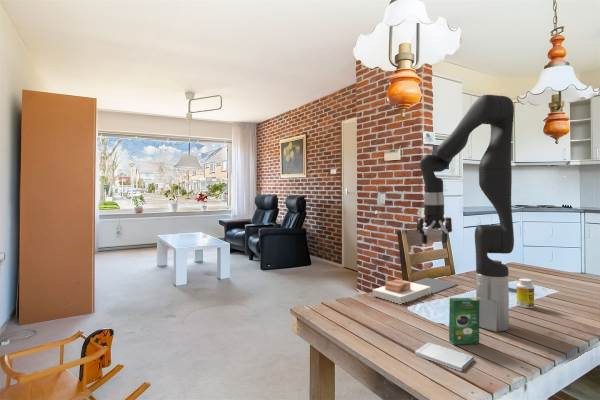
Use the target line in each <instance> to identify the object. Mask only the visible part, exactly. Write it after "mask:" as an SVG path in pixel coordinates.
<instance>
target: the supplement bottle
mask: <svg viewBox="0 0 600 400" xmlns="http://www.w3.org/2000/svg"><path fill="white" fill-rule="evenodd" d="M532 281H533V280H532V279H530V278H519V279H518V283H516V305H517V306H518V307H521V308H522V309H523V308H524V309H533V308H534V307H535V285H533V284H532V283H533V282H532Z"/></svg>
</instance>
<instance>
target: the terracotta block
mask: <svg viewBox="0 0 600 400" xmlns="http://www.w3.org/2000/svg"><path fill="white" fill-rule="evenodd" d="M406 281H407V280H401V279H393V280H389V281H386V282H384V286H385V290H389V291H393V292H396V293H401V292H404V291H407V290H410V282H411V281H408V282H406Z"/></svg>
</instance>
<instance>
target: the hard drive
mask: <svg viewBox="0 0 600 400" xmlns="http://www.w3.org/2000/svg"><path fill="white" fill-rule="evenodd" d="M414 355H415V356H418V357H419V358H422V359H426V360H429V361H430V360H431V362H433V361H434V362H433V363H436V362H437V363H436V364H439V363H440V364H439V365H441V364H442V366H444V365H445V366H444V367H447V366H448V368H449V367H450V369H452V368H453V369H452V370H455V369H456V371H458V370H459V371H458V372H460V371H462V370H463V369H464V370H465V369H467V367H469V365H471V364H470V363H471V362H472V361H473V360H474V361H475V358H474V356H472V355H469V354H466V353H462V352H459V351H457V350H455V349H451V348H448V347H444V346H443V345H438V344H435V343H432V342H426V343H425V344H423V345H422V346H420V347H419V348H418V349H416V350H415V351H414ZM474 361H473V362H474ZM473 362H472V363H473ZM464 370H463V371H464ZM463 371H462V372H463Z"/></svg>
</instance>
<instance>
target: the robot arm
mask: <svg viewBox="0 0 600 400" xmlns="http://www.w3.org/2000/svg"><path fill="white" fill-rule="evenodd" d="M514 116H515V107H514V102H513V100H512V99H511V98H510V97H509V96H506V95H497V94H483V95H481V96H479V97H478V98H477V99H476V100H475V101H474V102H473V104H472V105H471V106H470V107H469V109H468V110H467V112H466V113H465V115H464V116H463V117H462V118H461V120H460V122H459V123H458V124H457V126H456V127H455V128H454V129H453V131H452V132H451V133H450V134H449V135H448V136H447V137H446V138H445V139H444V140H443V141H442V142H441V143H440V144H438V147H437V148H436V154H430V153H429V154H425V155H423V156H422V157H421V159H420V161H419V167H420V171H421V175H422V180H423V182H424V197H423V198H424V199H423V203H424V204H423V206H424V209H423V211H424V214H423V215H424V218H419V217H418V218H417V219H416V220H417V221H416V233H418V234H420V235H421V243H422V244H423V245H427V244H428V233H429V232H430V231H431V230H434V229H438V230H440V231H441V243H442V244H446V243H447V242H448V233H452V232H453V225H452V217H448V216H446V217H444V215H445V195H444V180H443V179H442V178H440V177H438V176H436V174H435V173H441V172H444V171H445V170H446V169H447V168H448V167H449V166H450V164H451V162H452V161H453V158H455V157H456V156H457V155H458V154H459V153H460V152H461V151H463V150H464V148H465V147H466V146H467V145H468V144H467V143H468V141H469V137H470V135H471V133H472V132H473V131H474V130H475V129H477V128H478V127H480V126H481V125H490V140H489V143H488V146H487V148H486V150H485V152H484V153H483V155H482V157H481V159H480V162H479V165H478V186H479V187H480V189H481V191H482V192H483V194H484V195H485V197H486V198H487V200H488V201H489V202H490V203H491V205H492V206H493V208H494V209H495V211H496V213H497V216H498V218H499V219H498V220H499V224H479V225H476V227H475V229H474V245H475V246H474V247H475V249H474V250H475V278H476V279H475V280H476V281H475V290H476V291H475V294H476V296H475V298H476V299H478V300H479V301H480V308H479V328H481V329H484V330H488V331H492V332H495V333H497V332H504V331H508V330H509V329H510V313H509V312H510V304H509V303H510V302H509V301H510V300H509V298H510V297H509V296H510V295H509V292H510V291H509V290H510V288H509V285H510V284H509V277H510V275H509V271H510V270H509V267H508V265H506V264H503V263H502V264H501V263H498V262H495V261H493V259H491V258H490V257H489V256H488V254H503V255H504V254H510V253H512V252H513V250H514V248H515V247H514V246H515V233H514V223H513V212H512V211H513V210H512V182H513V181H512V180H513V177H512V175H513V174H512V172H513V171H512V136H513V135H512V134H513V125H514ZM444 223H445V225H444ZM424 224H425V225H424Z"/></svg>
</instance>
